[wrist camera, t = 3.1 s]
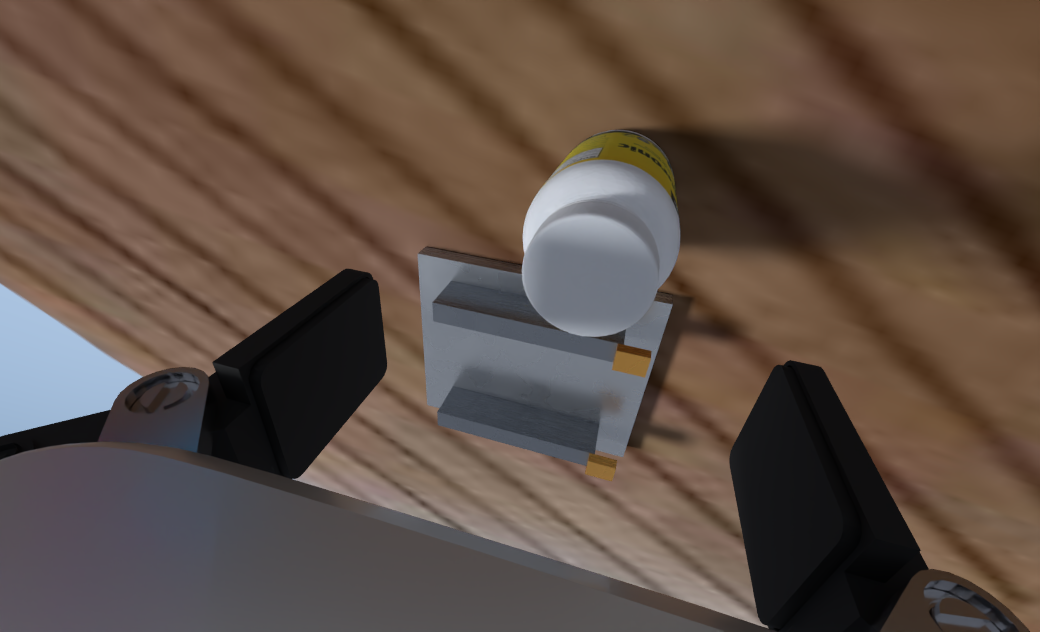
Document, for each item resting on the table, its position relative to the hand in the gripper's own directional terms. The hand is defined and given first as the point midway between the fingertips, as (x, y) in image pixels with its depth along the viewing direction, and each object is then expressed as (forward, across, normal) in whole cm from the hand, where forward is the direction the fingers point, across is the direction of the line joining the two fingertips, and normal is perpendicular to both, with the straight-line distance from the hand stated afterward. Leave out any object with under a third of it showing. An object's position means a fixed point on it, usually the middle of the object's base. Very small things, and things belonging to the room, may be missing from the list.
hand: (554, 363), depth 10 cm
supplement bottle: (+13, 0, -1) cm, 13 cm away
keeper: (+13, +3, +10) cm, 17 cm away
